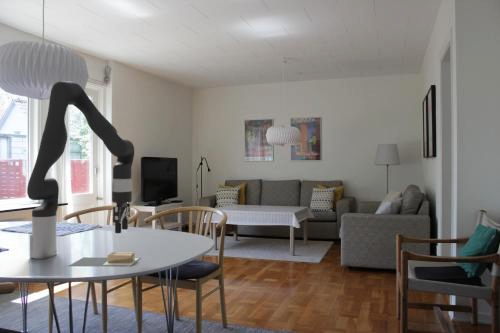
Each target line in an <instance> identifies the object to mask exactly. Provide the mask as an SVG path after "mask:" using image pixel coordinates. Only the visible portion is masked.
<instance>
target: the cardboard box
mask: <svg viewBox="0 0 500 333" xmlns="http://www.w3.org/2000/svg"><path fill="white" fill-rule="evenodd" d="M135 255H136V254H135V252H132V251H131V252H130V251H129V252H127V251H126V252H124V251H123V252H122V251H121V252H118V251H117V252H116V251H112V252H110V253H109V254H108V255H107V258H108V263H132V262H133V261H134V260H135V258H136V257H135Z"/></svg>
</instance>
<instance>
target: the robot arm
mask: <svg viewBox="0 0 500 333" xmlns="http://www.w3.org/2000/svg"><path fill="white" fill-rule="evenodd" d="M68 106H74V107H75V108H76V109H78V110H79V111H80V112H81V113H82V114H83V116H84V117H85V120H86V122H87V125H88V126H89V128H90V129H91V131H92V132H93V133H94V134H95V135H96V136H97V137H98V138H99V139H100V140H101V141H102V143H103V144H104V146H105V147H106V148H107V150H108V151H109V153H110V154H112V155H113V156H114V157H116V163H115V164H114V165H113V167H112V182H111V202H112V203H114V204H116V206H113V208H112V223H114V227H115V228H114V232H115V234H122V230H125V231H126V230H128V229H129V218H131V206H130V205H131V203H132V202H133V181H132V166H133V164H134V158H135V146H134V144H133V142H132V141H130V140H128V139H123V138H122V137H121V136H120V135H119V134H118V130H117V129H116V127H115V125H114V126H113V124H111V122H110V121H109V120H108V119H107V118H106V117H105V116H104V115H103V114H102V113H101V112H100V111H99V109H98V108H97V106H96V105H95V104H94V103H93V101H92V100H91V98H90V97H89V96H88V94H87V93H86V91H85V90H84V89H83V87H82V86H81V85H80V84H79V83H77V82H75V81H68V80H59V81H56V82H54V84H53V85H52V88H51V90H50V95H49V102H48V111H47V117H46V121H45V124H44V128H43V132H42V135H41V139H40V143H39V149H38V152H37V157H36V160H35V163H34V167H33V169H32V172H31V175H30V177H29V180H28V183H27V186H26V189H27V190H26V193H27V196H28V198H29V199H30V200H32V201H42V200H43V201H42V203H41V204H40V205H39V206H37V207H35V208H33V209H32V211H31V234H30V235H29V258H30V259H35V260H42V259H49V258H51V257H54V256H57V253H58V252H57V251H58V250H57V246H58V245H57V212H58V209H59V196H60V195H59V194H60V193H59V191H60V190H59V189H60V188H59V187H60V186H59V183H58V180H57V179H56V178H54V177H47V174H48V173H49V170H50V168H52V167H53V166H54V164H55V163H56V162H57V161H58V160H59V159H60V158H61V157H62V155H63V154H64V151H65V149H66V145H67V141H68V131H67V126H66V122H65V121H66V112H67V109H68Z"/></svg>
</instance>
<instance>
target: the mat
mask: <svg viewBox="0 0 500 333" xmlns="http://www.w3.org/2000/svg"><path fill="white" fill-rule="evenodd" d="M141 259H142V257H135V260H134V261H133V262H132V263H108V257H90V256H89V257H82V258H80V259H78V260H76V261H74V262H73V263H71V264H69V265H68V267H122V268H123V267H124V268H125V267H131V268H132V267H133V266H134V265H135V264H136V263H138V262H139V261H140V260H141Z"/></svg>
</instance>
